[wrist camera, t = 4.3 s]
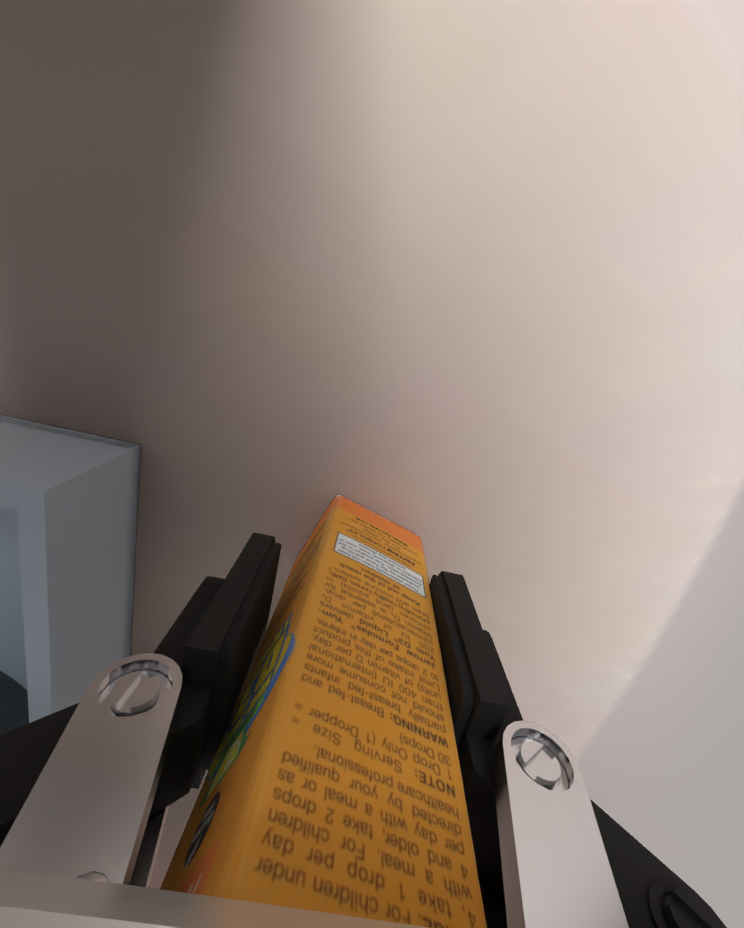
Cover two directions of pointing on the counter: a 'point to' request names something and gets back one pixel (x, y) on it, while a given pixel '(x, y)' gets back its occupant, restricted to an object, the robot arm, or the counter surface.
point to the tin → (12, 704)
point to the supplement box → (341, 748)
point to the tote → (64, 558)
